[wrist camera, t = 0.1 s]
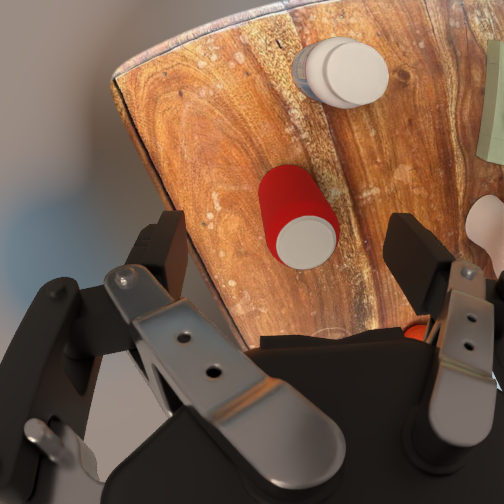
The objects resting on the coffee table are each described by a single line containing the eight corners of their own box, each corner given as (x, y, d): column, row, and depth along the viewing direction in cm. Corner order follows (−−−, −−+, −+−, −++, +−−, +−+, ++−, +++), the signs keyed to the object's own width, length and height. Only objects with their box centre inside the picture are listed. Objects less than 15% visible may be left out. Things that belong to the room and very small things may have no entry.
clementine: (382, 334, 48) (397, 367, 42) (414, 307, 46) (433, 339, 40) (405, 349, 51) (419, 380, 45) (435, 325, 49) (452, 355, 43)
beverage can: (255, 213, 36) (263, 277, 26) (260, 159, 33) (271, 205, 23) (308, 216, 37) (336, 279, 26) (317, 164, 33) (353, 211, 23)
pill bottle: (357, 86, 29) (410, 98, 19) (306, 108, 30) (339, 128, 21) (332, 35, 26) (378, 22, 16) (279, 57, 27) (301, 50, 18)
